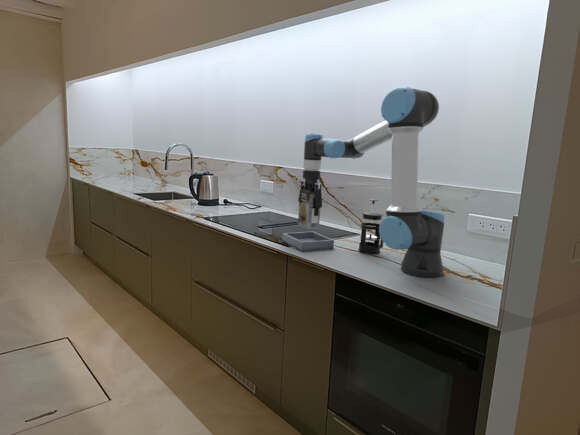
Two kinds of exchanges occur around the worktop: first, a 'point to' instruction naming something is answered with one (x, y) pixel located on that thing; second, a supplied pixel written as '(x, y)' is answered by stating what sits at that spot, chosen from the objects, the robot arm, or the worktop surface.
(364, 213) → the french press
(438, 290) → the worktop surface
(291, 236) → the bin
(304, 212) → the coffee box
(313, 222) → the robot arm
